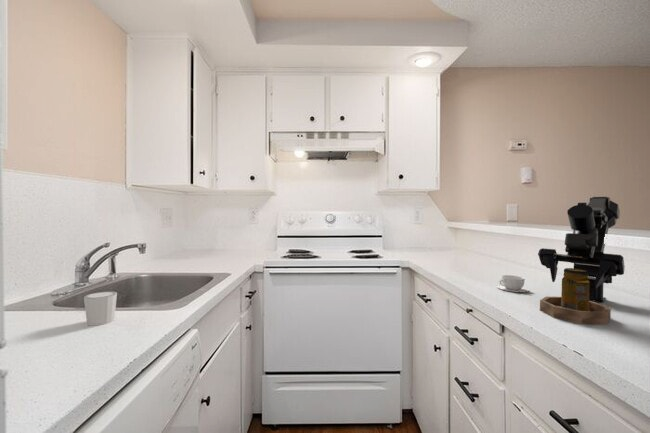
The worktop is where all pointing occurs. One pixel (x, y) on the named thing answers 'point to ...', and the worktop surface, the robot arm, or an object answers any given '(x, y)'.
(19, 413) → the worktop surface
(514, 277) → the teacup
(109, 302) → the shot glass
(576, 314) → the ring seat
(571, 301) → the condiment
